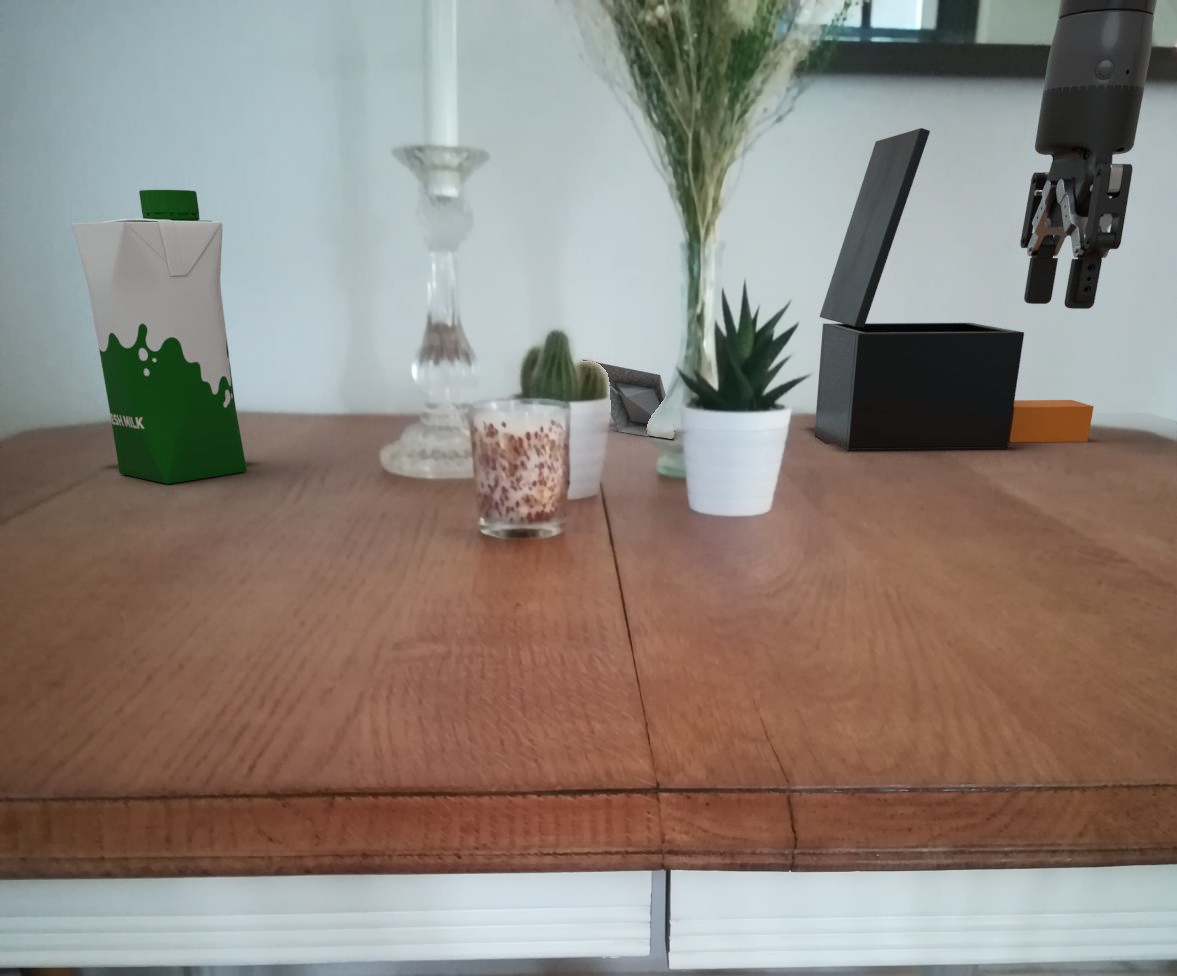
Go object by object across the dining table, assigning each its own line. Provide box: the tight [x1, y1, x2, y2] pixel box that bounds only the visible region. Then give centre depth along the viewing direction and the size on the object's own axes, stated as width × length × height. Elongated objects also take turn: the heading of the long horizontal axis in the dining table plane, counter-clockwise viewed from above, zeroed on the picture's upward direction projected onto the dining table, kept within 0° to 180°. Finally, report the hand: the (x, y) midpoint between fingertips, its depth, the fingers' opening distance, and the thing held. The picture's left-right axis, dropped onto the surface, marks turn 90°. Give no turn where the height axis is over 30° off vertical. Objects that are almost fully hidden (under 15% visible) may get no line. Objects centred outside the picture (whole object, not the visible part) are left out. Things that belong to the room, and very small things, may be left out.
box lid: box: [819, 127, 931, 328], centre depth 96 cm, size 14×13×1 cm
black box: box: [813, 322, 1025, 453], centre depth 101 cm, size 14×13×10 cm
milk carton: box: [71, 189, 248, 485], centre depth 88 cm, size 9×9×20 cm
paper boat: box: [582, 358, 667, 437], centre depth 109 cm, size 12×6×9 cm
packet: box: [1008, 399, 1095, 443], centre depth 103 cm, size 7×4×4 cm, turn 93°
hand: (1056, 306), depth 99 cm, fingers open, 8 cm apart
